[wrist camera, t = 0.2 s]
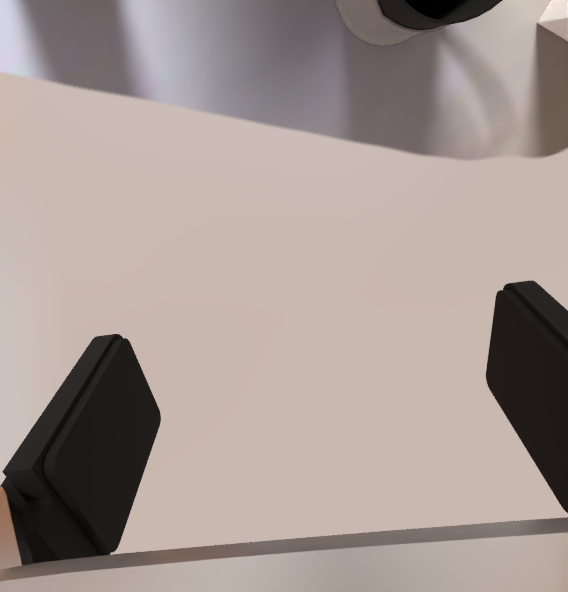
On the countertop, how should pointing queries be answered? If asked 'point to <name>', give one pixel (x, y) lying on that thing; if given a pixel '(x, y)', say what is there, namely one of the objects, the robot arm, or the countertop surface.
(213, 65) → the countertop surface
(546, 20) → the milk
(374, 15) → the glass holder
